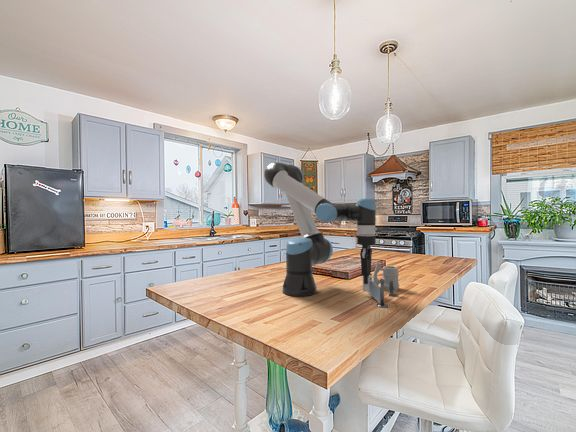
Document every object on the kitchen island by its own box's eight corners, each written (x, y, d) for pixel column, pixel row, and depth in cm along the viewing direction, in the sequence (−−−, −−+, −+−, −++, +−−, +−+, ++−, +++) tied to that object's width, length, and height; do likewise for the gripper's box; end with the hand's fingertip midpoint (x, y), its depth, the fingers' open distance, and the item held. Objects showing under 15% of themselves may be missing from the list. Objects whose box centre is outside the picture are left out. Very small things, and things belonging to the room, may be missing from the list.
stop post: (388, 296, 117) (388, 281, 117) (389, 293, 120) (389, 279, 120) (396, 297, 115) (396, 282, 115) (397, 294, 119) (397, 280, 119)
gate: (366, 291, 122) (366, 274, 121) (371, 291, 122) (371, 274, 121) (379, 303, 105) (379, 284, 105) (383, 303, 105) (383, 284, 105)
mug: (401, 290, 124) (401, 264, 124) (375, 290, 125) (374, 264, 125) (396, 286, 132) (396, 261, 132) (371, 286, 133) (370, 261, 133)
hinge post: (375, 306, 104) (375, 279, 103) (377, 303, 107) (377, 277, 107) (387, 308, 102) (387, 280, 102) (388, 305, 105) (388, 278, 105)
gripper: (372, 236, 110) (372, 296, 110) (377, 234, 122) (378, 288, 122) (353, 236, 113) (353, 293, 113) (360, 234, 125) (360, 286, 125)
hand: (366, 290), depth 117 cm, fingers closed
